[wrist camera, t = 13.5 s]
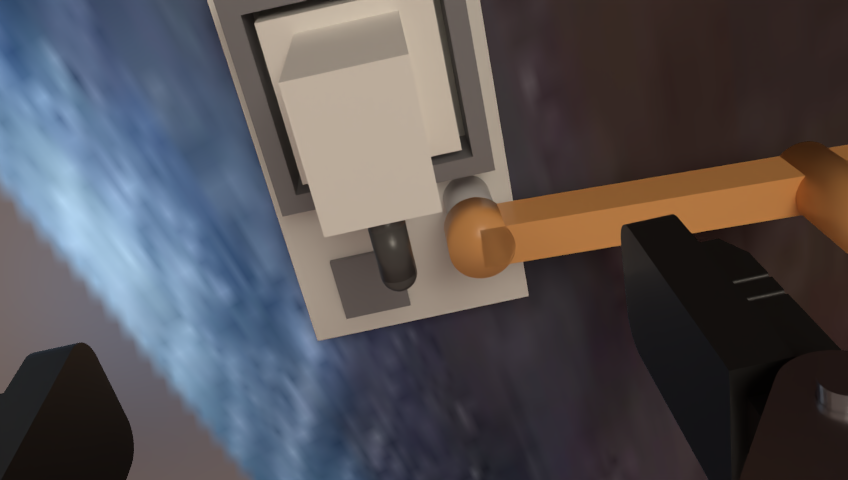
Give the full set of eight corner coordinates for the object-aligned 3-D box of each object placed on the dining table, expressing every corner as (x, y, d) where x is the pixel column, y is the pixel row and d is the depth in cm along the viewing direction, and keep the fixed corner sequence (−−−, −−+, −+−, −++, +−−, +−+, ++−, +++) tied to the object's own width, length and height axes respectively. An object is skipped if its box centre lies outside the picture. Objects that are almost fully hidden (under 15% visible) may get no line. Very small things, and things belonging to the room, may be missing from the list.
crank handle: (448, 258, 25) (477, 390, 19) (440, 203, 24) (467, 323, 18) (860, 189, 25) (1017, 299, 19) (867, 131, 24) (1034, 227, 18)
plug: (465, 183, 27) (497, 288, 21) (322, 214, 27) (311, 327, 21) (424, -28, 23) (448, 21, 17) (262, 9, 24) (228, 70, 17)
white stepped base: (516, 263, 31) (539, 325, 27) (320, 305, 31) (315, 373, 27) (446, -150, 24) (463, -147, 20) (195, -92, 24) (164, -78, 20)
